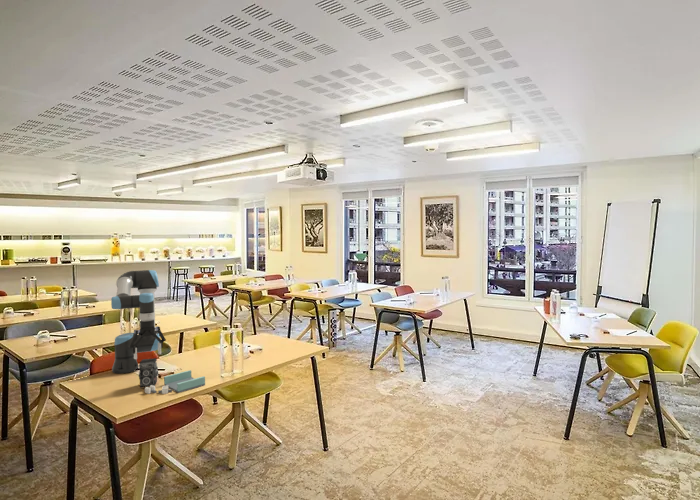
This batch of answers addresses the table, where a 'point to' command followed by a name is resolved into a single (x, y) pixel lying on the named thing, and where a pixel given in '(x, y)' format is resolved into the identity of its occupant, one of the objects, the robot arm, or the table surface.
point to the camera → (148, 372)
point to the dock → (183, 381)
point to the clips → (148, 390)
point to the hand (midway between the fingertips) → (147, 356)
